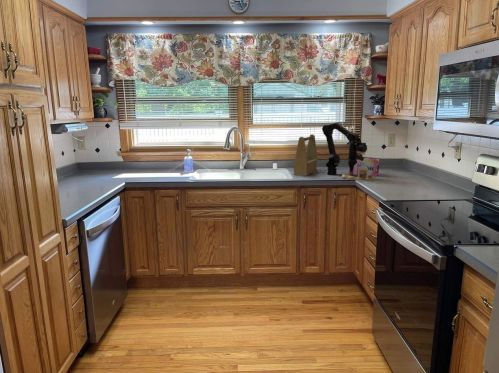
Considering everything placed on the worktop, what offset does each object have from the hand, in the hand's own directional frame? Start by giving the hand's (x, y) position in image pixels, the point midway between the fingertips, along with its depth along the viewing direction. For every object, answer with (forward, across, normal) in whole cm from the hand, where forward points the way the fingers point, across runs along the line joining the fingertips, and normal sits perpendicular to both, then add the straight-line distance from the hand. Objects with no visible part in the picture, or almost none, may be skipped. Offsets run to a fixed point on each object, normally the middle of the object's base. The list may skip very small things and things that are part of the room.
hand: (351, 171), depth 283 cm
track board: (+5, 0, -4) cm, 7 cm away
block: (+2, 0, -8) cm, 8 cm away
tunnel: (+3, 0, -8) cm, 9 cm away
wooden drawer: (+3, 0, -5) cm, 6 cm away
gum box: (+5, +20, -10) cm, 23 cm away
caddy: (+5, +13, +35) cm, 38 cm away
